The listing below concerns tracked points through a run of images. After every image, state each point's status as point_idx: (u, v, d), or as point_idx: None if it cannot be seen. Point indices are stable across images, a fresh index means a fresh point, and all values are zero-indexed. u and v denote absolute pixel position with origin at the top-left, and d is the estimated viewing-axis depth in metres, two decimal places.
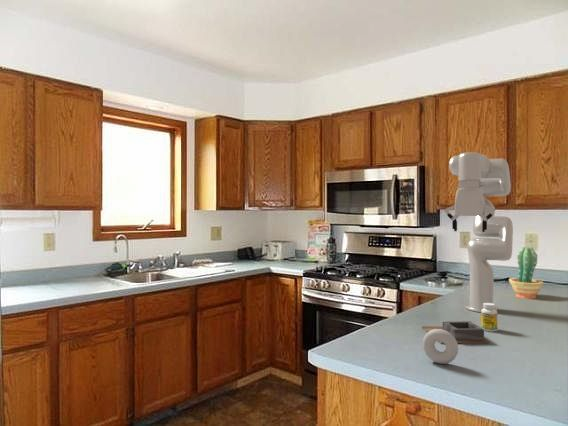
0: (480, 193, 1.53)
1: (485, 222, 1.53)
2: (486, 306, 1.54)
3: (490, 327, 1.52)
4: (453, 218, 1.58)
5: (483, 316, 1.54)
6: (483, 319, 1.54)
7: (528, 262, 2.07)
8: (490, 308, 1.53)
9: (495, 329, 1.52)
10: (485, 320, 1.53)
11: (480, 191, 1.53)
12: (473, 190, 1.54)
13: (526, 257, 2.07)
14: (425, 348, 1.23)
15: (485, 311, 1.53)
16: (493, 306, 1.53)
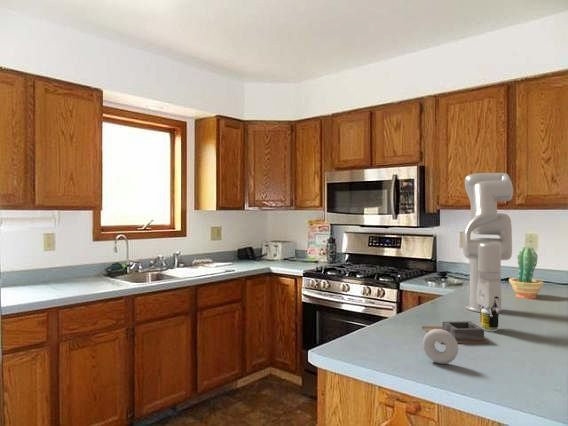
0: None
1: None
2: None
3: (490, 327, 1.52)
4: None
5: (483, 316, 1.54)
6: (483, 319, 1.54)
7: (528, 262, 2.07)
8: None
9: (495, 329, 1.52)
10: (485, 320, 1.53)
11: None
12: None
13: (526, 257, 2.07)
14: (425, 348, 1.23)
15: (485, 311, 1.53)
16: (493, 306, 1.53)
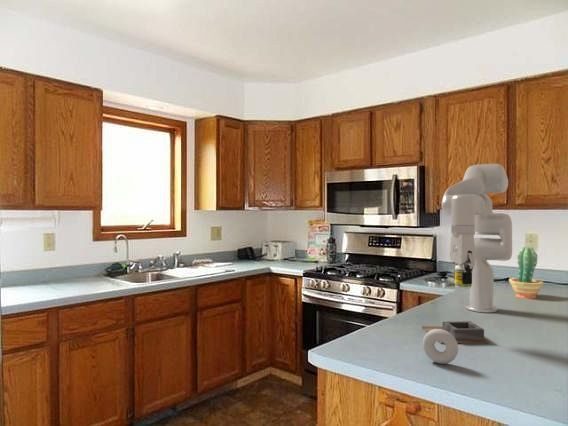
0: None
1: None
2: None
3: (464, 284, 1.43)
4: None
5: (456, 273, 1.45)
6: (456, 276, 1.45)
7: (528, 262, 2.07)
8: None
9: (469, 286, 1.43)
10: (458, 276, 1.44)
11: None
12: None
13: (526, 257, 2.07)
14: (425, 348, 1.23)
15: (458, 267, 1.44)
16: (467, 262, 1.44)
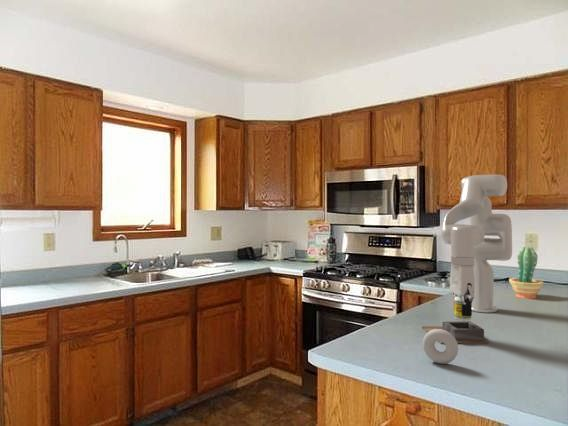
0: None
1: None
2: None
3: (463, 316, 1.43)
4: None
5: (456, 304, 1.45)
6: (456, 307, 1.45)
7: (528, 262, 2.07)
8: None
9: (468, 318, 1.43)
10: (457, 308, 1.44)
11: None
12: None
13: (526, 257, 2.07)
14: (425, 348, 1.23)
15: (458, 299, 1.44)
16: (466, 293, 1.44)
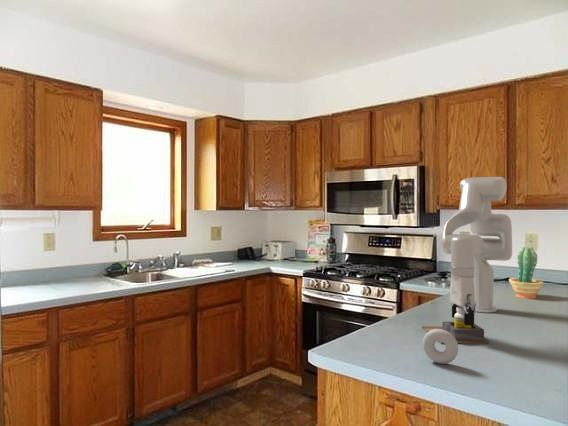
0: None
1: None
2: (459, 310, 1.44)
3: None
4: None
5: (456, 321, 1.45)
6: (456, 324, 1.45)
7: (528, 262, 2.07)
8: (463, 312, 1.44)
9: None
10: (457, 325, 1.44)
11: None
12: None
13: (526, 257, 2.07)
14: (425, 348, 1.23)
15: (458, 315, 1.44)
16: None
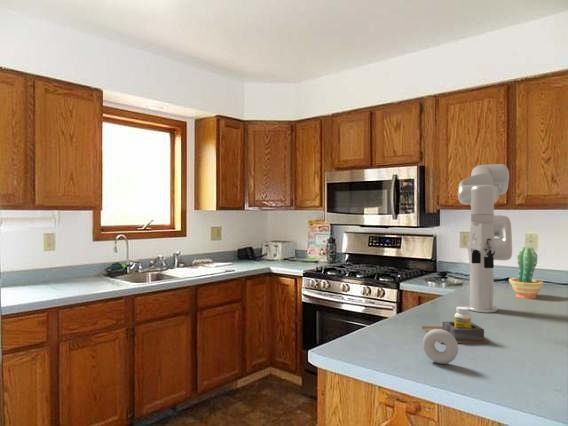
0: None
1: None
2: (459, 310, 1.44)
3: None
4: None
5: (456, 321, 1.45)
6: (456, 324, 1.45)
7: (528, 262, 2.07)
8: (463, 312, 1.44)
9: None
10: (457, 325, 1.44)
11: None
12: None
13: (526, 257, 2.07)
14: (425, 348, 1.23)
15: (458, 315, 1.44)
16: (466, 310, 1.44)
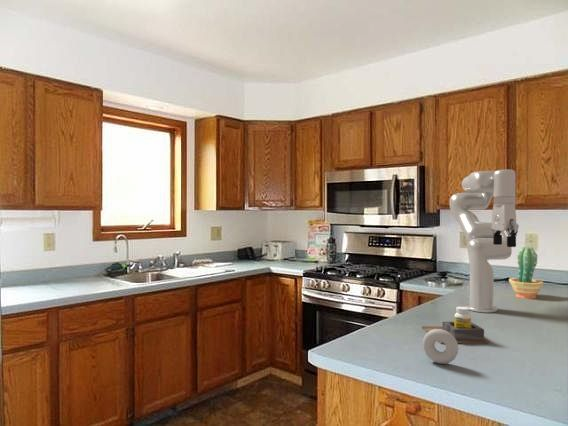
0: None
1: None
2: (459, 310, 1.44)
3: None
4: None
5: (456, 321, 1.45)
6: (456, 324, 1.45)
7: (528, 262, 2.07)
8: (463, 312, 1.44)
9: None
10: (457, 325, 1.44)
11: None
12: None
13: (526, 257, 2.07)
14: (425, 348, 1.23)
15: (458, 315, 1.44)
16: (466, 310, 1.44)
